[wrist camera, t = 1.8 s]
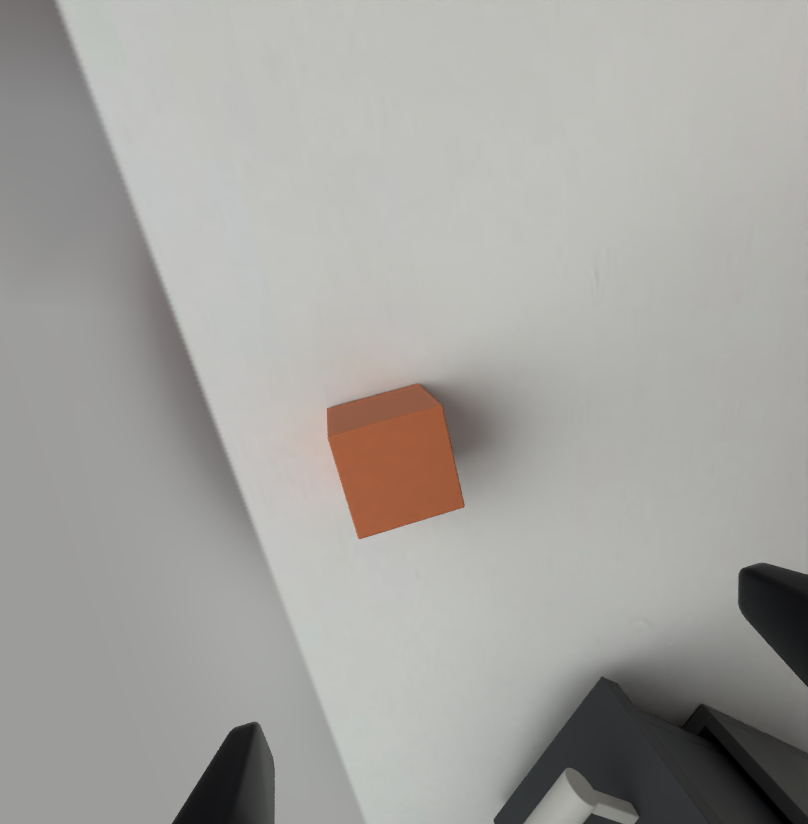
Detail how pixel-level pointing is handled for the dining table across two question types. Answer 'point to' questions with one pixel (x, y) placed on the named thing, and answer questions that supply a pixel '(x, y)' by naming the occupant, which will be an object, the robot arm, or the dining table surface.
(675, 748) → the drawer
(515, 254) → the dining table surface
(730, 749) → the cabinet
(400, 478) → the block
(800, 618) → the robot arm
